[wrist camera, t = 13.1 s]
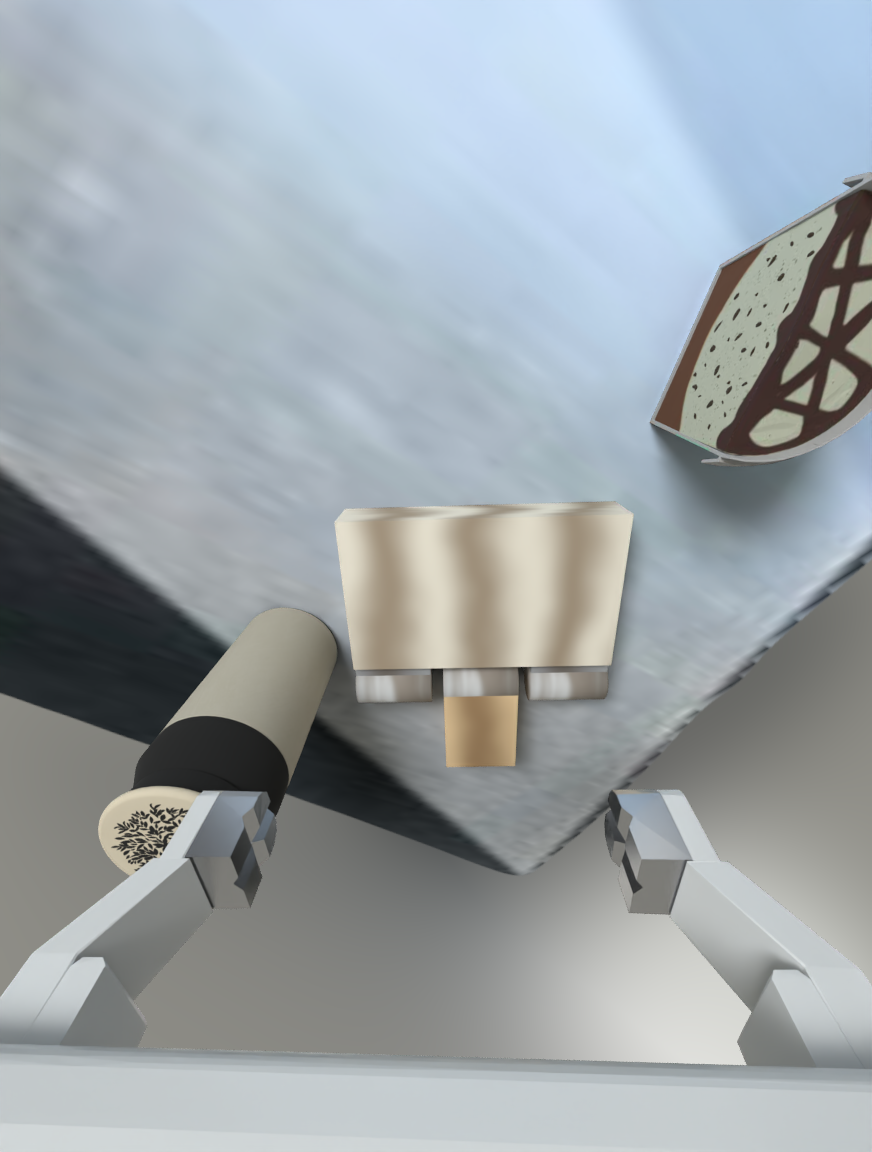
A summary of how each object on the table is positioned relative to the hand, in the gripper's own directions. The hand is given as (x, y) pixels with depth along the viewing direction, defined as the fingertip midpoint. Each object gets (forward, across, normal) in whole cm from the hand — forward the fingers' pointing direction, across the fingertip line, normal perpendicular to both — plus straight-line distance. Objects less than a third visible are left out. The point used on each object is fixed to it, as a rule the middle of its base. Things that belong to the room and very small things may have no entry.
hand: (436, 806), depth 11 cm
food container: (+26, -18, -9) cm, 33 cm away
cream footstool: (+25, -2, +8) cm, 26 cm away
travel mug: (+24, +14, +12) cm, 30 cm away
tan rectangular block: (+24, -2, +17) cm, 30 cm away
